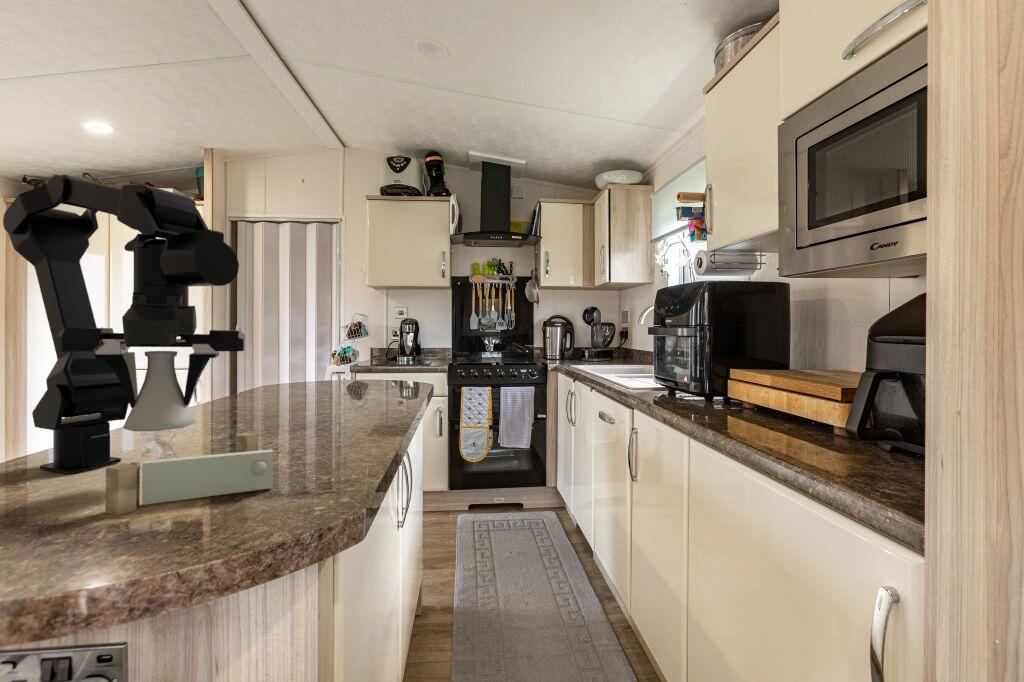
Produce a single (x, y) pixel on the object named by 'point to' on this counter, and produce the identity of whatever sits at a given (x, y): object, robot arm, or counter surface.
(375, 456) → the counter surface
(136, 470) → the door frame
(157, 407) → the flask
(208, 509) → the counter surface
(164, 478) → the door
